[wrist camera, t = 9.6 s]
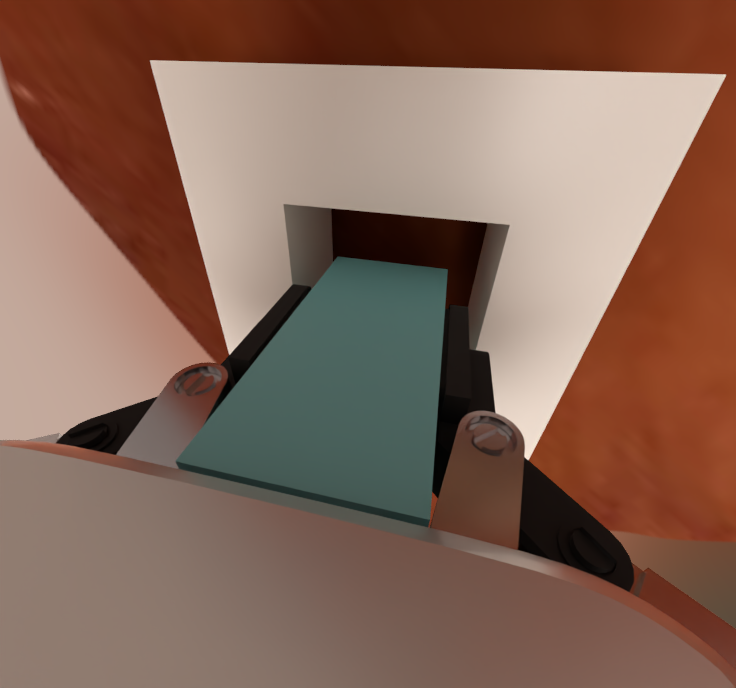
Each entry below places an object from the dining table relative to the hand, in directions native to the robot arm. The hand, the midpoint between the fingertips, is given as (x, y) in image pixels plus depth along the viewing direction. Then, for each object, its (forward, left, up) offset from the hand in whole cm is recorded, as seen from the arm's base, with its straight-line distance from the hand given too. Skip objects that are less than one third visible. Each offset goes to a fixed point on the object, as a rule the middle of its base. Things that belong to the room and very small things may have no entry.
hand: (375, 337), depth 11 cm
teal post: (+1, 0, -3) cm, 3 cm away
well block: (0, 0, -7) cm, 7 cm away
